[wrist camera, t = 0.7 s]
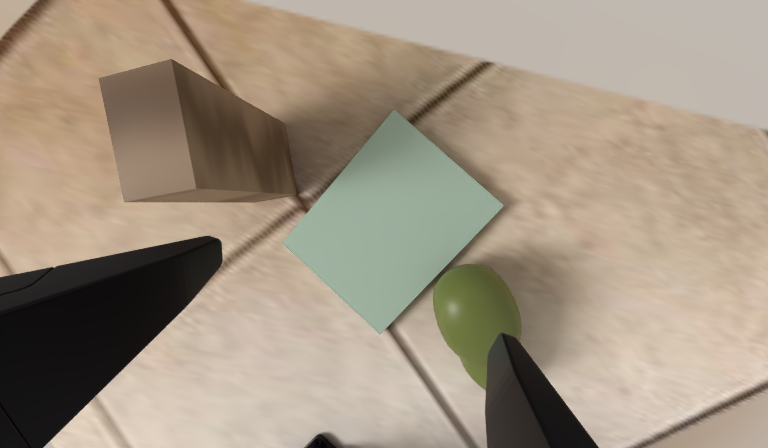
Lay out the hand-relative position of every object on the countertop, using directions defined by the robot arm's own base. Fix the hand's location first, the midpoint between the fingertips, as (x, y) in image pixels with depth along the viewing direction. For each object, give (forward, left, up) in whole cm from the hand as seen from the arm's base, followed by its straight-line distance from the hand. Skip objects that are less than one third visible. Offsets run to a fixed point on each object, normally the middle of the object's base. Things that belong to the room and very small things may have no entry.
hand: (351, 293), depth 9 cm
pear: (-1, -9, -15) cm, 18 cm away
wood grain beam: (-3, +12, -15) cm, 19 cm away
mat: (0, +1, -15) cm, 15 cm away
